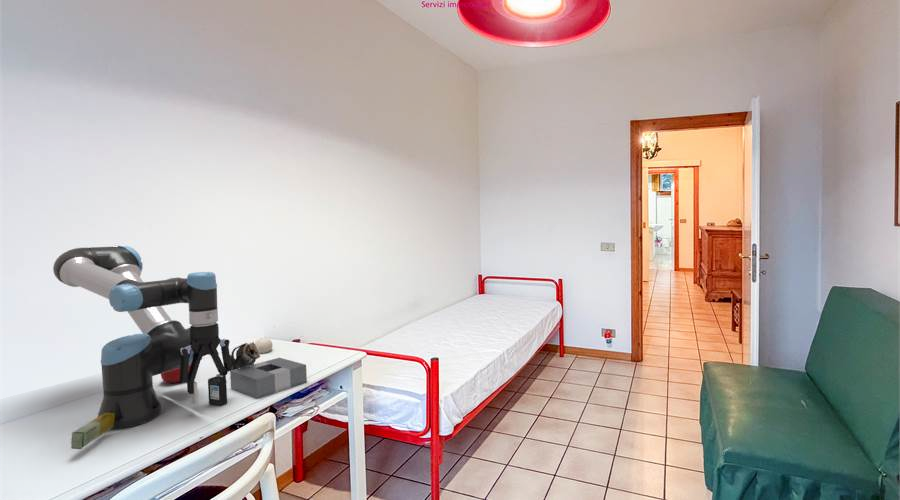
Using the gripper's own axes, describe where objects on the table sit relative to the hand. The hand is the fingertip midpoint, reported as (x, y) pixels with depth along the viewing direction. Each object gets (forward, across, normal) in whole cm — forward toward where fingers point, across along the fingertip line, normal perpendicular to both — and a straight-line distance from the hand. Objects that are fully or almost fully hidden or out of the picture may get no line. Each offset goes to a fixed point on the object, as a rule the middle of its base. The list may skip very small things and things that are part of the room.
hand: (207, 399), depth 136 cm
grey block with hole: (+2, +20, 0) cm, 20 cm away
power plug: (+3, +17, +16) cm, 24 cm away
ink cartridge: (+2, +2, -2) cm, 3 cm away
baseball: (+2, +41, +39) cm, 56 cm away
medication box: (+2, -27, +2) cm, 27 cm away
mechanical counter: (+2, +24, +26) cm, 35 cm away
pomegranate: (+2, +5, +34) cm, 34 cm away
